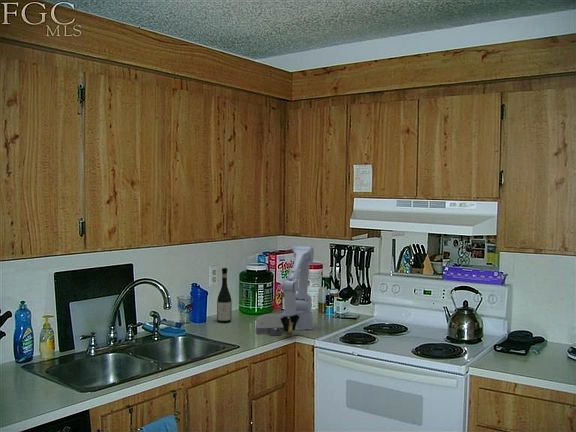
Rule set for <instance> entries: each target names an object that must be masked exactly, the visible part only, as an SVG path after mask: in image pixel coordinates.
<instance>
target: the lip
mask: <svg viewBox="0 0 576 432" xmlns="http://www.w3.org/2000/svg"><path fill="white" fill-rule="evenodd" d="M293 333H294V330H292V334H293ZM283 334H286V331H284V327H270V328H256V327H255V335H269V336H270V337H274V336H276V337H277V336H282V335H283Z"/></svg>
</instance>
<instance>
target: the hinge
mask: <svg viewBox="0 0 576 432" xmlns="http://www.w3.org/2000/svg"><path fill="white" fill-rule="evenodd" d="M277 314H278V313H266V314H265V313H264V314H261V315H258V316H257V317H256V322H255V329H256V328H270V327H283V324H282V321H281V319H279V318H277Z"/></svg>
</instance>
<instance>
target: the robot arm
mask: <svg viewBox="0 0 576 432" xmlns="http://www.w3.org/2000/svg"><path fill="white" fill-rule="evenodd" d="M292 253H293V257H294V259H293V260H294V261H293V266H292V268H290V269H289V271H288V274H287V276H286V280H284V281H283V282H282V291H283V293H282V294H283V296H284V297H283V298H284V302H283V304H284V307H283V312H280V313H276V314H277V318H279V319H281V321H282V324H283V327H284V331H286V332H288V326H289V321H291V322H294V324H293V328H292V330H293V331H298V330H299V331H302V330H304V331H306V329H307V330H314V315H313V311H311V310H312V307H313V303H312V302H313V301H312V300H313V299H312V297H311V296H310V295H309V293H308V287H309V274H310V265H311V263H313V262H314V256H315V255H314V254H315V252H314V247H313V246H302V245H295V246H294V247H293V252H292ZM288 317H289V318H288Z"/></svg>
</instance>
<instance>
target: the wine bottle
mask: <svg viewBox="0 0 576 432" xmlns="http://www.w3.org/2000/svg"><path fill="white" fill-rule="evenodd" d="M221 278H222V279H221V287H220V291H219V293H218V296H217V300H216V321H217V322H218V323H221V324H222V323H223V324H227V323H230V322H231V321H232V307H233V306H232V304H233V303H232V302H233V301H232V296H231V293H230V291H229V288H228V268H227V267H222V268H221Z"/></svg>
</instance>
